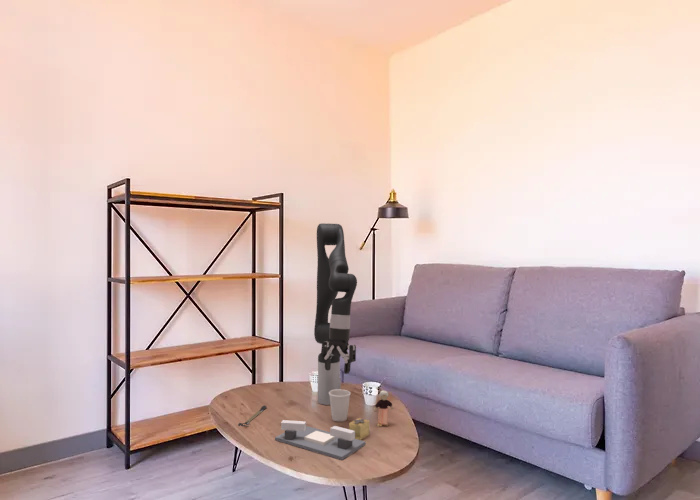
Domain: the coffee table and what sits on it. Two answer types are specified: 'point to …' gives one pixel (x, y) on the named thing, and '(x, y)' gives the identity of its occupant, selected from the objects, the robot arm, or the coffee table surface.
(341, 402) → the dixie cup
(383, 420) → the grandmother figurine
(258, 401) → the coffee table surface
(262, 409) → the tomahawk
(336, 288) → the robot arm
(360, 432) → the yellow plus-sign block
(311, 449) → the lever control panel
